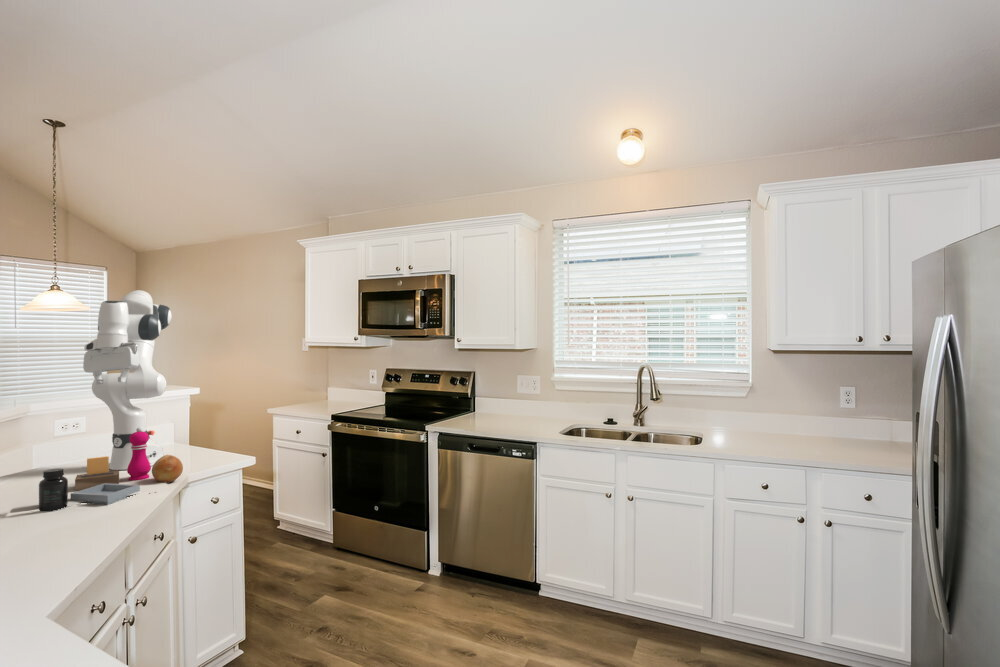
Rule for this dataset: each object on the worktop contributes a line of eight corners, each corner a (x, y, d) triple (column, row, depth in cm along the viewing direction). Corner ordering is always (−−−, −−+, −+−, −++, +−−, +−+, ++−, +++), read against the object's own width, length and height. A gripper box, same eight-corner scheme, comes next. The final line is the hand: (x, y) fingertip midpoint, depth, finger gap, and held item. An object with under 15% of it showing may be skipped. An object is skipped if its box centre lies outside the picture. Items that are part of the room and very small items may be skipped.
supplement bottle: (44, 506, 164) (45, 468, 164) (71, 503, 166) (71, 466, 166) (34, 513, 158) (34, 473, 158) (62, 510, 160) (62, 471, 160)
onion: (144, 484, 188) (144, 457, 188) (170, 477, 197) (170, 451, 197) (163, 487, 185) (163, 459, 185) (189, 480, 194) (189, 453, 194)
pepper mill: (138, 484, 189) (138, 429, 189) (122, 483, 190) (122, 428, 190) (155, 478, 196) (155, 426, 196) (139, 477, 197) (139, 425, 197)
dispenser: (77, 489, 183) (77, 473, 183) (119, 483, 190) (119, 468, 190) (75, 494, 176) (75, 478, 176) (118, 488, 183) (118, 472, 183)
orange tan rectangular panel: (87, 486, 182) (87, 458, 182) (108, 484, 185) (108, 456, 185) (86, 487, 181) (87, 459, 181) (108, 484, 184) (108, 456, 184)
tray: (104, 491, 179) (104, 483, 179) (139, 493, 177) (139, 484, 177) (70, 502, 167) (70, 493, 167) (107, 504, 165) (107, 495, 165)
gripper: (144, 342, 185) (143, 381, 183) (97, 348, 189) (95, 386, 187) (128, 340, 179) (126, 380, 176) (80, 346, 183) (78, 385, 180)
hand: (110, 383), depth 182 cm, fingers open, 8 cm apart
